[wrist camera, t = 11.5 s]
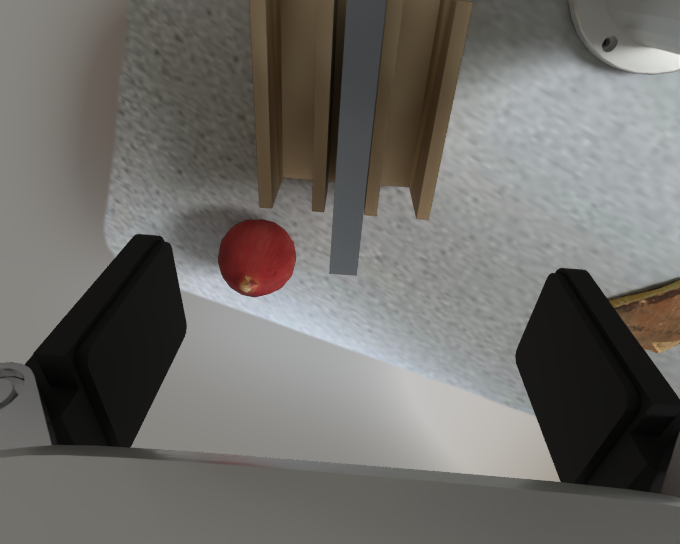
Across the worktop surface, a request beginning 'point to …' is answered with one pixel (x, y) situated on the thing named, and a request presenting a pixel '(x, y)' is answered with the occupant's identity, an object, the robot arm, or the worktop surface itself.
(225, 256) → the onion
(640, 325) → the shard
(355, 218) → the plate
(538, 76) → the worktop surface
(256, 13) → the rack
